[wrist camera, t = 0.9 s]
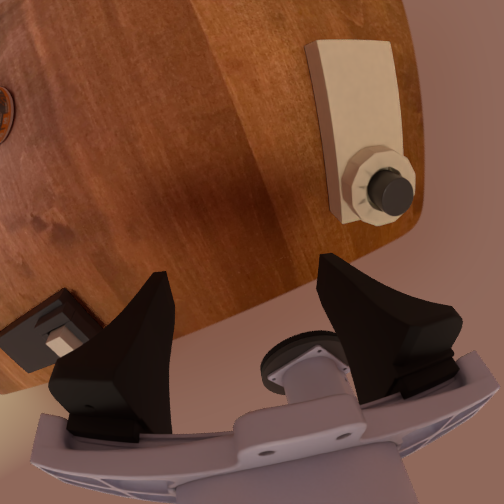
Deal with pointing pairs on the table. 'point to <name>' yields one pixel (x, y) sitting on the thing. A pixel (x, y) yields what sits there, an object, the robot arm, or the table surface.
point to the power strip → (46, 330)
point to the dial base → (357, 122)
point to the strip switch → (63, 341)
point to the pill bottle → (5, 112)
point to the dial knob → (390, 192)
